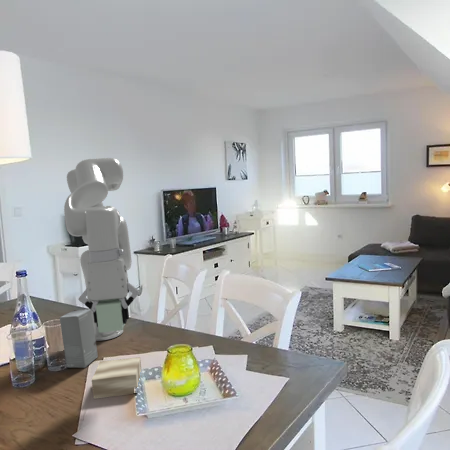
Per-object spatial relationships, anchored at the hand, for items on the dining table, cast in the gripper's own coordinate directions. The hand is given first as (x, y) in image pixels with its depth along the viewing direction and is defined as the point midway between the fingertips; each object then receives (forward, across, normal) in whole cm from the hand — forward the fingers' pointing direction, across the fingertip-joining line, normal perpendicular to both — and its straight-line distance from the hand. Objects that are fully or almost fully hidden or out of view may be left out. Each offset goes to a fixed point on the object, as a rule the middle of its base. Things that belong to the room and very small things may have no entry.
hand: (112, 323), depth 111 cm
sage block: (+1, 0, 0) cm, 1 cm away
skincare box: (+17, +14, -19) cm, 30 cm away
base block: (+17, 0, 0) cm, 17 cm away
